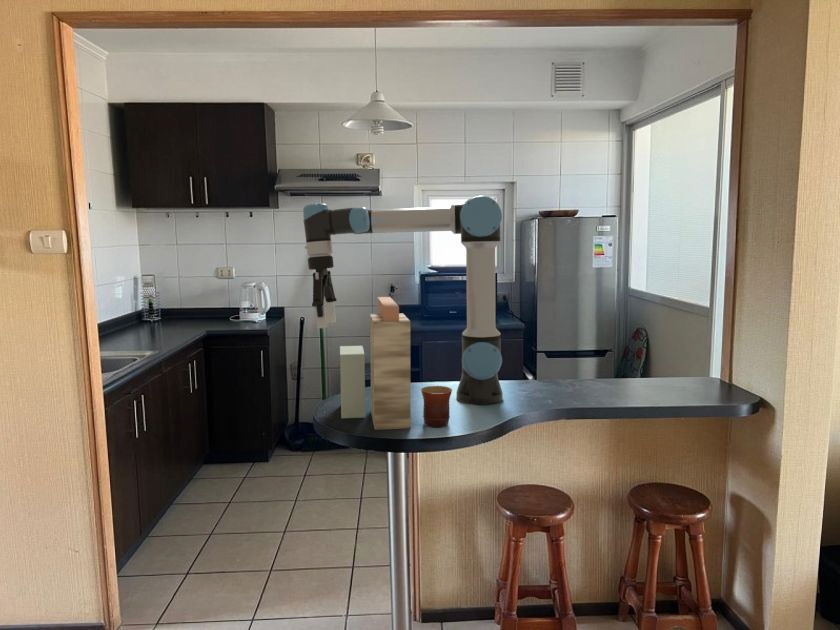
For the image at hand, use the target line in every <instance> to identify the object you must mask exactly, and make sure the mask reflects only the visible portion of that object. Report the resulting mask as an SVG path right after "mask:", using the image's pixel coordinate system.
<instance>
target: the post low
mask: <svg viewBox="0 0 840 630" xmlns="http://www.w3.org/2000/svg"><path fill="white" fill-rule="evenodd" d="M339 359H340V360H339V361H340V362H339V364H340V368H339V369H340V371H339V372H340V409H341V410H340V418H341V419H359V418H360V419H361V418H366V382H365V381H366V379H365V377H366V375H365V373H366V372H365V369H366V368H365V367H366V366H365V365H366V364H365V361H366V360H365V351H364V346H363V345H340V346H339Z"/></svg>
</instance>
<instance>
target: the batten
mask: <svg viewBox="0 0 840 630" xmlns="http://www.w3.org/2000/svg"><path fill="white" fill-rule="evenodd" d="M377 311H378V312H379V313H378V314H380V315H381V316H382V318H383V320H384V321H399V313H400V306H399V305H398V304H397V303H396V302H395V300H393V298H391V296H377Z"/></svg>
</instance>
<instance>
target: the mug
mask: <svg viewBox="0 0 840 630" xmlns="http://www.w3.org/2000/svg"><path fill="white" fill-rule="evenodd" d="M420 391H421V395H422V399H423V408H422V412H423V413H422V414H423V416H422V418H423V423H424V425H426V426H427V427H429V428H435V429H441V428H445V427H446V426H448V424H449V423H450V399H451V395H452V392H453V389H452V388H450V387H448V386H444V385H428V386H424V387H422V388H421V389H420Z"/></svg>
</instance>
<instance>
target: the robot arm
mask: <svg viewBox="0 0 840 630" xmlns="http://www.w3.org/2000/svg"><path fill="white" fill-rule="evenodd" d="M302 210H303V211H302V212H303V213H302V214H303V225H304V226H303V227H304V235H305V242H306V244H305V245H306V246H304V249H305V250H306V253H307V256H309V257H308V258H307V263H308V264H307V265H308V270H315V272H312V303H311V305H312V308H313V307H314V308H315V309H314V310H315V317H316V327H317V329H327V328H328V324H334V323H337V318H336V308H335V307H336V306H335V302H337V298H336V295H335V289H334V286H333V281H332V275H331V274H332V273H331V270H328V269H332V268H334V257H333V256H332V254H333V244H332V237H331V236H335V235H346V234H347V235H348V234H353V235H363V234H365V235H366V234H386V233H387V234H389V233H390V234H392V233H419V232H423V233H424V232H452V233H453V234H454V235H458V234H459V235H460V244H462V245H463V246H464V248H465V249H466V253H465V256H466V258H465V259H466V260H465V261H466V262H465V263H466V265H465V266H466V267H465V268H466V273H465V274H466V328H465V329H464V330H463V331H462V332H461V346H462V347H461V348H462V349H461V352H462V353H461V377H460V381H459V383H458V386H457V389H456V396H455V397H456V399H457V401H459V402H461V403H465V404H469V405H493V404H497V403H500V402H502V401H503V390H502V387H501V383H500V380H499V377H498V372H499V371H500V369H501V367H502V364H503V356H502V353H501V351H502V349H501V347H502V346H501V344H502V342H501V341H502V340H501V335H502V334H501V332H500V331H499V329H497V327H496V247H498V245H499V244H501V223H502V218H503V216H502V215H503V214H502V209H501V207H500V205H499V203H498V202H497V201H496V200H495V199H494V198H492V197H490V196H486V195H476V196H475V195H474V196H473V197H470V198H469V199H467V200H466V201H465V202H456V203H452V204H451V206H440V207H439V206H434V207H433V206H432V207H410V208H405V207H404V208H384V209H367V208H366V207H365V206H353V207H347V208H337V209H329V207H328V204H326V203H311V204H306V205H305V206H304V207H303V209H302Z"/></svg>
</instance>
